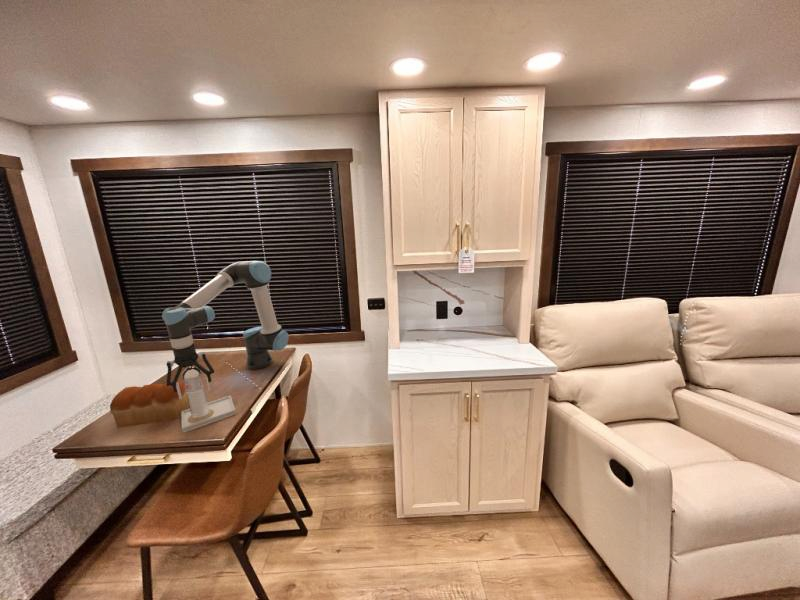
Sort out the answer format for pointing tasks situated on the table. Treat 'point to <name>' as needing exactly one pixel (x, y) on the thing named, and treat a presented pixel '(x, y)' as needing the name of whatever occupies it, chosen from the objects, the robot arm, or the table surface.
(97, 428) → the table surface
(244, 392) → the table surface
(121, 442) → the table surface
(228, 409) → the tray
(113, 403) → the bread
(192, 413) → the water bottle
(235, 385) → the table surface
